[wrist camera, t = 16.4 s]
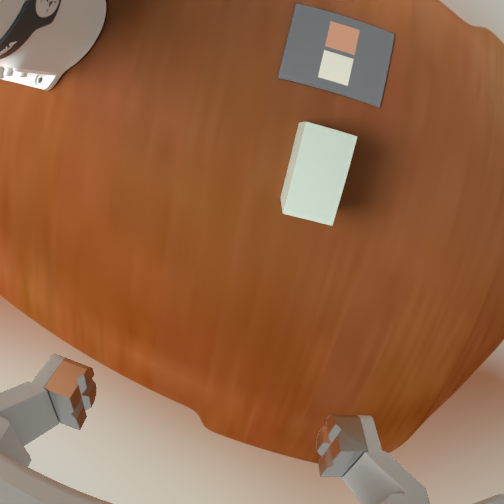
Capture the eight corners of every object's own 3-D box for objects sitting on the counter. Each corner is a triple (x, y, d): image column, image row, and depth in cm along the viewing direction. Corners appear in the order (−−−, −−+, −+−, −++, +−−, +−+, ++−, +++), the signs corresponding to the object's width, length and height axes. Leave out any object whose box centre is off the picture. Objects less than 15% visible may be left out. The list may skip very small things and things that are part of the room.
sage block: (280, 197, 37) (282, 213, 31) (298, 122, 34) (305, 121, 27) (321, 207, 37) (332, 225, 31) (341, 134, 34) (357, 136, 27)
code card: (277, 78, 32) (277, 77, 32) (296, 3, 28) (296, 3, 28) (379, 107, 32) (379, 107, 32) (394, 34, 28) (394, 34, 28)
